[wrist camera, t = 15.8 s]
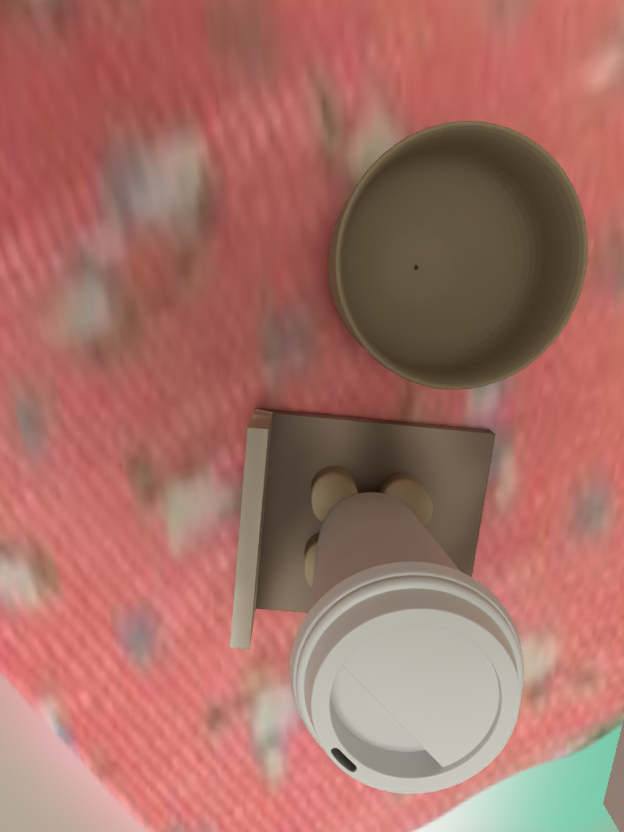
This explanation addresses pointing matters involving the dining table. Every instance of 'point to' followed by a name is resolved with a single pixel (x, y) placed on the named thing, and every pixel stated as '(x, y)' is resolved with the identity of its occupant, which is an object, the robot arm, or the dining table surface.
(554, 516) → the dining table surface
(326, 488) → the peg stand
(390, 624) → the coffee cup
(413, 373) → the bowl
